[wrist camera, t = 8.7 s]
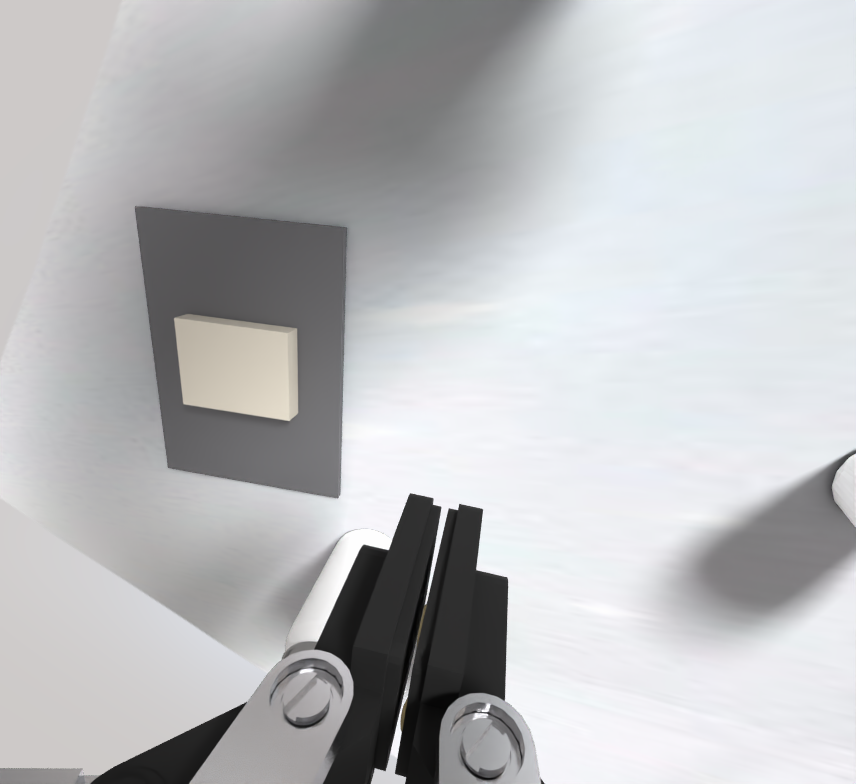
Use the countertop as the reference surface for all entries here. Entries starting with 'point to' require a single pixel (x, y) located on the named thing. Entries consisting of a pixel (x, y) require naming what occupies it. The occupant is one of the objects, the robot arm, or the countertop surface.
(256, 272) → the mat
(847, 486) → the cup
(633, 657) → the countertop surface
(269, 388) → the tile
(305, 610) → the can
